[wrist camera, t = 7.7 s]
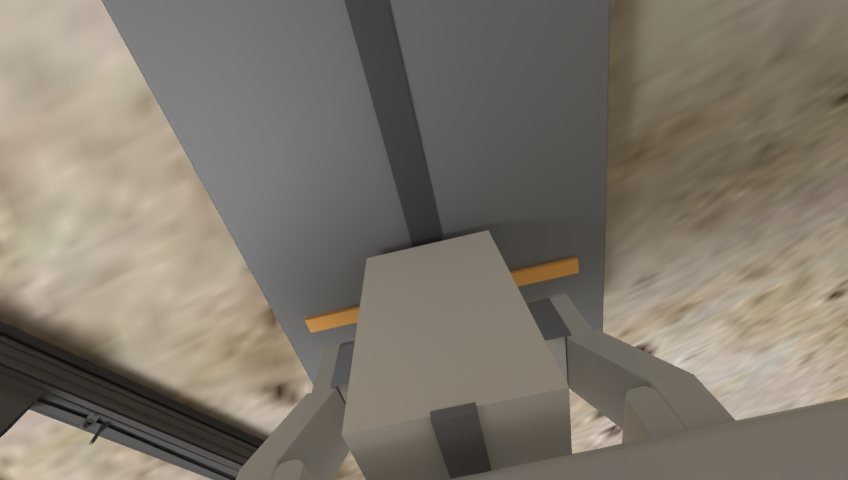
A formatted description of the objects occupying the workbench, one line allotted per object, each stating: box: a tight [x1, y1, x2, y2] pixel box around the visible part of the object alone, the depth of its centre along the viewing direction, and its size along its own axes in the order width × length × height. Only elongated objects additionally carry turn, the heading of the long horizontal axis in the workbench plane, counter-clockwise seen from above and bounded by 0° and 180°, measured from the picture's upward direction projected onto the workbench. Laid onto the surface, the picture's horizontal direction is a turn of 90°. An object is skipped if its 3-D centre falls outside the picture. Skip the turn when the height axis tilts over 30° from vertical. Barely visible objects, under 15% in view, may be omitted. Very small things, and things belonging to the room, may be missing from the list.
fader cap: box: [342, 230, 572, 480], centre depth 10 cm, size 4×4×6 cm
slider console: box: [102, 0, 610, 385], centre depth 11 cm, size 22×12×3 cm, turn 13°
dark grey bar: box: [0, 322, 264, 480], centre depth 17 cm, size 19×3×4 cm, turn 45°
